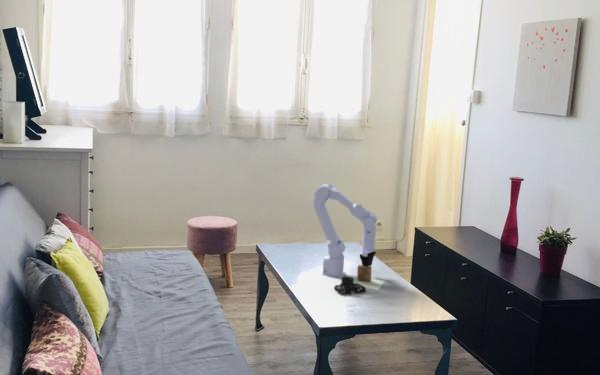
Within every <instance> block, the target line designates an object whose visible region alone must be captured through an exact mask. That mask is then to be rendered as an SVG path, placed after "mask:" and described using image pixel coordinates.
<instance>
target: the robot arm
mask: <svg viewBox="0 0 600 375" xmlns="http://www.w3.org/2000/svg"><path fill="white" fill-rule="evenodd" d="M329 200H335V201H337V202H338V203H340V204H341V205H343V206H344V207H346V208H347V209H348V210H349V211H350V212H349V214H351V215H352V216H353V217H355V219H357V220H359V222H362V225H363V229H362V230H363V232H362V245H361V246H362V247H361V251H362V254H359V259H360V261H361V265H364V266H371V267H372V264H373V261H374V257H375V255H376V253H377V251H378V250H377V249H378V248H375V247H376V246H375V244H376V228H377V227H376V223H377V221H378V217H377V216H376V215H375V213H373V212H371V211H370V210H369V211H368V210H367V209H366V208H364V207H363V206H364V205H363V204H362V203H360V204H359V203H353V202H352V200H350V199H349V198H348V197H347V196H345V195H344V194H343V193H342V192H341V191H339V190H338V188H336V187H335V186H332V184H330V183H324V184H321V185H320V186H318V188H317V189H316V190H315V192H314V198H313V208H314V211H315V213H316V216H317V218H318V221H319V224H320V225H321V228H322V231H323V233H324V236H325V238H326V240H327V241H326V243H327V244H326V245H327V248H328V253H327V254H328V255H325V256H324V258H323V262H322V265H323V266H322V276H328V277H333V278H341V279H342V278H343V276H344V277H345V275H346V272H344V265H345V261H344V260H345V255H344V252H345V251H346V245H345V243H344V242H342V240H341V238H340V237H339V236H338V234H337V232H336V229H335V227H334V225H333V222H332V219H331V217H330V215H329V212H328V210H327V207H326V203H327V201H329Z"/></svg>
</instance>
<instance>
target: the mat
mask: <svg viewBox="0 0 600 375" xmlns="http://www.w3.org/2000/svg"><path fill="white" fill-rule="evenodd" d="M346 277H352V278H353V279H354V281H353V283H354V284H356V283H358V284H361V285H363V287H365V288H366V289H369V290H375V291H376V290H377V291H379V290H380V289H381V288H382V287H383V285H384V283H385V282H386V280H383V279H382V280H381V279H374V278H371V282H364V281H357V276H352V275H347V276H346Z"/></svg>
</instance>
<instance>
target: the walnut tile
mask: <svg viewBox="0 0 600 375" xmlns="http://www.w3.org/2000/svg"><path fill="white" fill-rule="evenodd" d="M356 275H357V276H356V277H357V281H364V282H371V279H372V265H371V266H364V265H362V264H358V266H357V274H356Z"/></svg>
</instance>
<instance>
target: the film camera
mask: <svg viewBox="0 0 600 375" xmlns="http://www.w3.org/2000/svg"><path fill="white" fill-rule="evenodd" d="M353 281H354V279H353V278H352V277H347V276H344V277H342V278H341V282H340V284H336V285H334V287H333V288H334V290H335V291H336V292H337V293H338V294H340V295H351V296H352V295H355V293H356V294H359V293H365V292H366V289H367V288H365V287H363V285H361V284H358V283H356V284H354V283H353Z"/></svg>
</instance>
